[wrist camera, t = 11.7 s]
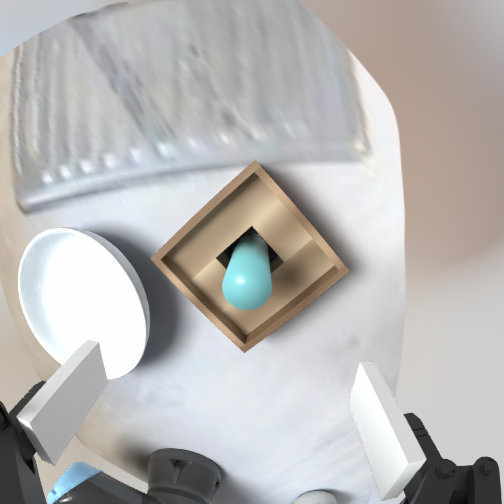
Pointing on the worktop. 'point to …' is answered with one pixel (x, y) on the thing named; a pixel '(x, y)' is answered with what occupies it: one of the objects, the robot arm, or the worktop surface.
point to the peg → (248, 274)
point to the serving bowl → (84, 298)
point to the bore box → (216, 262)
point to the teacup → (316, 498)
